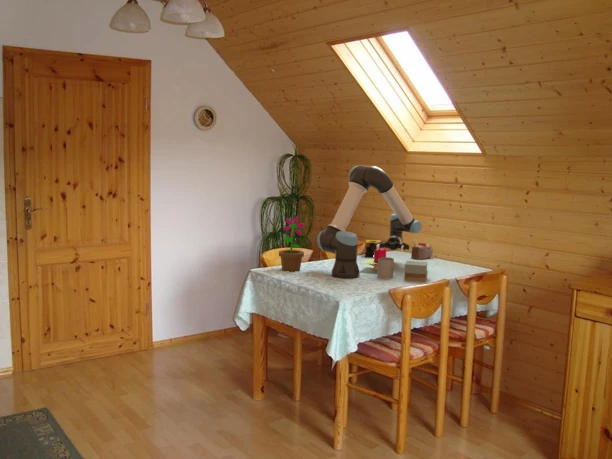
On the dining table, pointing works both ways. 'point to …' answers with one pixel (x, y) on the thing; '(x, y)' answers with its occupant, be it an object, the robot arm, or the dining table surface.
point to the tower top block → (415, 267)
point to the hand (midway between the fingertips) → (389, 248)
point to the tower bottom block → (416, 277)
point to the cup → (385, 267)
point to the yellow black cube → (370, 247)
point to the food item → (421, 251)
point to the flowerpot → (291, 257)
